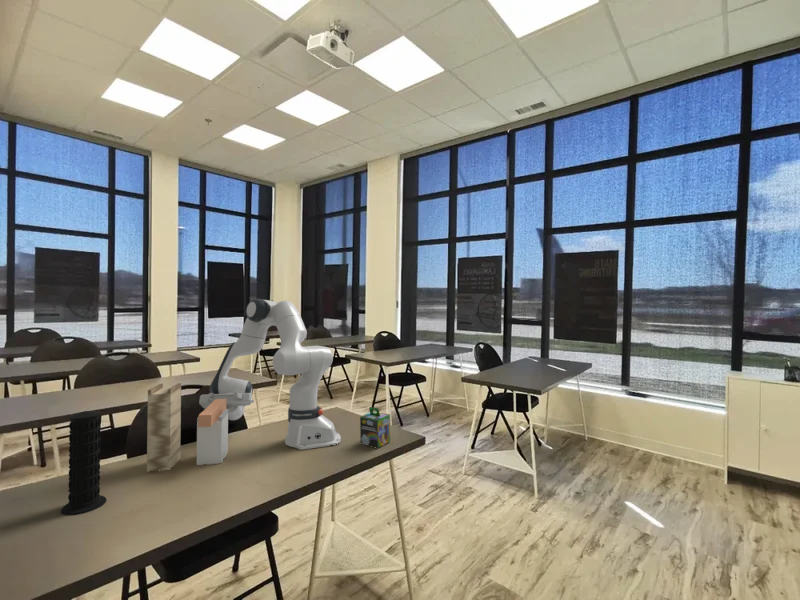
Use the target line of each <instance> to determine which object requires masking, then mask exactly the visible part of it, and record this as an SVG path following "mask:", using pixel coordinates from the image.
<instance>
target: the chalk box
mask: <svg viewBox="0 0 800 600" xmlns="http://www.w3.org/2000/svg"><path fill="white" fill-rule="evenodd" d="M359 419H360V420H359V421H360V423H359V426H360V427H359V431H360V432H359V433H360V436H359V437H360V443H362V444H361V445H363V444H365V445H364V446H366V445H369V446H368V447H370V446H372V447H371V448H374V447H376V448H375V449H377V448H378V447H380V446H381V447H383V446H384V445H383V444H385V443H387V442H388V443H390V442H391V414H390V413H385V412H380V410H379V408H378V407H372V406H370V407H369V412H367V413H365V414H363V415H361V416H360V418H359ZM389 441H390V442H389ZM388 443H387V444H388ZM382 445H383V446H382ZM385 445H386V444H385ZM381 447H380V448H381ZM378 449H379V448H378Z"/></svg>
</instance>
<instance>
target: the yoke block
mask: <svg viewBox="0 0 800 600" xmlns="http://www.w3.org/2000/svg"><path fill="white" fill-rule="evenodd" d="M196 419H197V420H196V423H197V424H196V466H204V465H203V464H207V465H216V464H217V465H219V464H218V463H221V464H222V463H223V462H224V460H223V459H225V458H226V456H227V455H226V454H228V453H227V452H228V449H229V448H228V447H229V440H228V439H229V438H228V437H229V436H228V435H229V434H228V433H229V419H228V409H225V410H224V411H223V413H222V414H221V415H220V416H219V418H218V419H217V420H216V422H215V423H214V424H213V425H212V426H211V427H198V417H197V418H196Z"/></svg>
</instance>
